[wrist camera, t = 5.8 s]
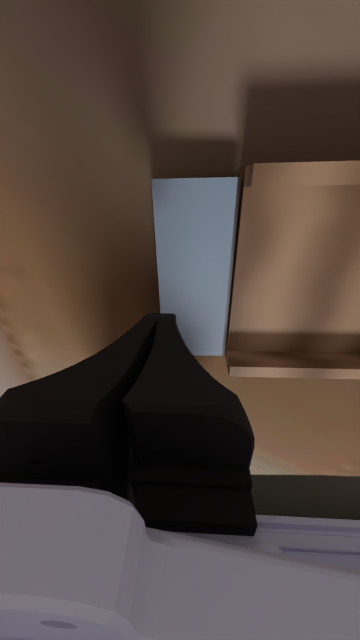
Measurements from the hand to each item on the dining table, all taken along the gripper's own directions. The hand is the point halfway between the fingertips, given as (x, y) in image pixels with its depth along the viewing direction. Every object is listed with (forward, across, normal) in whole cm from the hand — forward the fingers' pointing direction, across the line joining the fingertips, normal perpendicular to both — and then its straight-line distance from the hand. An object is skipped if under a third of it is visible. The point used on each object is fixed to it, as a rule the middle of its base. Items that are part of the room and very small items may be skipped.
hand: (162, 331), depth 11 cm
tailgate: (+6, -4, 0) cm, 7 cm away
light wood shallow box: (+8, -10, 0) cm, 13 cm away
